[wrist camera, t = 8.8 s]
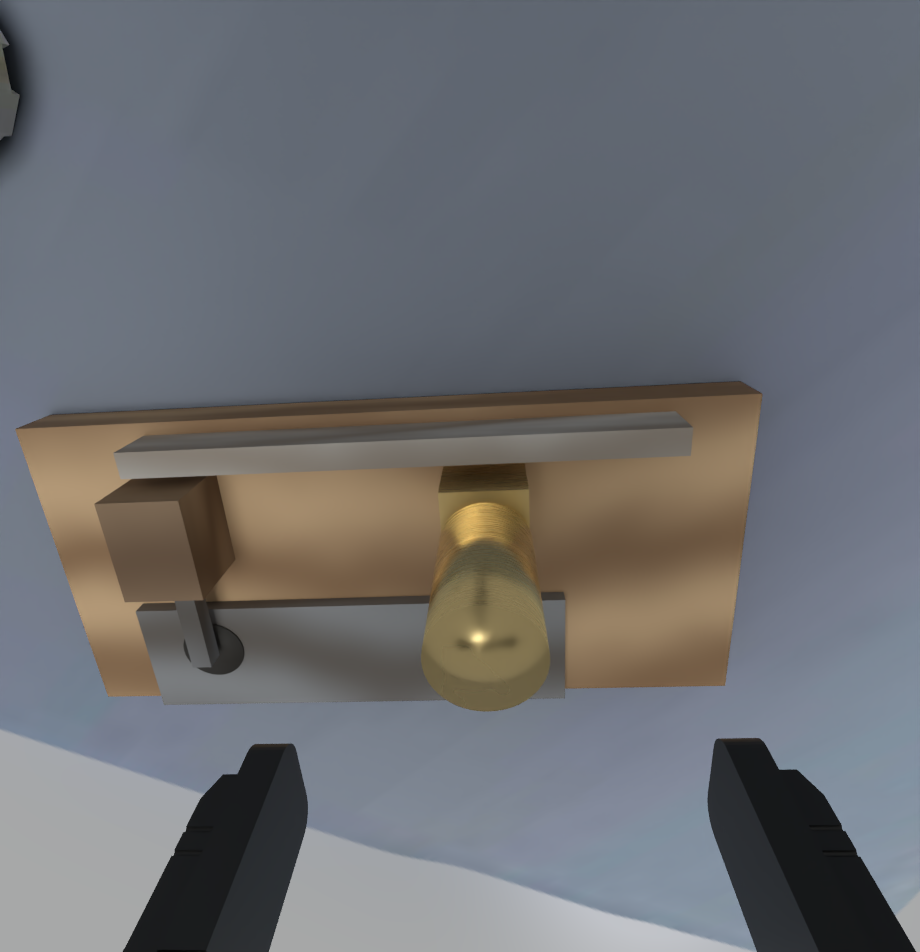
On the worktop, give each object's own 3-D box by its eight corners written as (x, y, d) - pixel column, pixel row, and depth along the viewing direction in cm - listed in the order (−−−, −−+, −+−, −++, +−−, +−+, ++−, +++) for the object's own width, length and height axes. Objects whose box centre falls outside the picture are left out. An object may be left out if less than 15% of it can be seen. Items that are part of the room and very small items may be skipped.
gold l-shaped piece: (441, 461, 22) (413, 593, 14) (526, 458, 22) (549, 589, 14) (454, 637, 25) (438, 832, 17) (530, 635, 25) (551, 832, 17)
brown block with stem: (141, 472, 23) (94, 504, 21) (215, 469, 23) (178, 500, 20) (187, 641, 26) (151, 688, 24) (253, 639, 26) (225, 687, 23)
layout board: (50, 415, 25) (-27, 445, 21) (740, 381, 23) (789, 408, 19) (132, 667, 30) (81, 729, 26) (709, 655, 28) (743, 719, 24)
